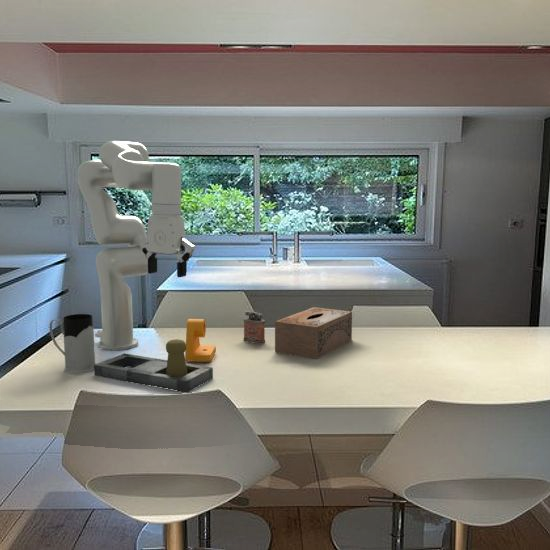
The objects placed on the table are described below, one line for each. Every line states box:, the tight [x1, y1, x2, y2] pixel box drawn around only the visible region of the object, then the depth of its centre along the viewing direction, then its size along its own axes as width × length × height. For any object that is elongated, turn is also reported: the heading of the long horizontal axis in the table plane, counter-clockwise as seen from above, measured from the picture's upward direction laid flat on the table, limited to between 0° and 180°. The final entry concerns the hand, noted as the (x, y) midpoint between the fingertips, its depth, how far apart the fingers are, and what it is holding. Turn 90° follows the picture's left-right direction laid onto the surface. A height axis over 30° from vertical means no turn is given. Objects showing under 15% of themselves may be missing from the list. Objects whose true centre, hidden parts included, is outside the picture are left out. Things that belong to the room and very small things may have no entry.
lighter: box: [242, 310, 266, 344], centre depth 182 cm, size 8×3×10 cm, turn 58°
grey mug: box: [49, 313, 96, 376], centre depth 153 cm, size 9×14×15 cm, turn 70°
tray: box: [93, 353, 214, 393], centre depth 146 cm, size 30×12×3 cm, turn 64°
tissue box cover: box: [274, 306, 353, 360], centre depth 177 cm, size 26×14×10 cm, turn 148°
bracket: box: [184, 318, 217, 363], centre depth 163 cm, size 11×7×12 cm, turn 177°
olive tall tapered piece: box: [165, 339, 187, 377], centre depth 142 cm, size 6×6×11 cm
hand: (166, 274), depth 147 cm, fingers open, 9 cm apart
